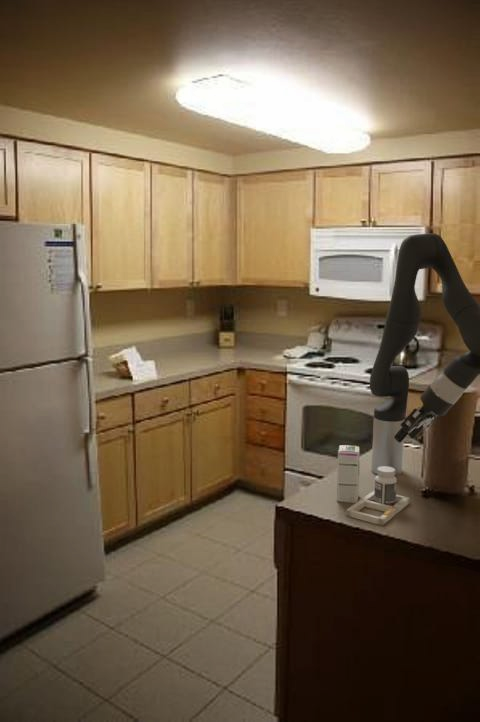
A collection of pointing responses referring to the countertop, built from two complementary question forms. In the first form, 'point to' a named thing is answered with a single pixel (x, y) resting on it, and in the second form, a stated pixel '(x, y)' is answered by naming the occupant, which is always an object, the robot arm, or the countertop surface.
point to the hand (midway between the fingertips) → (403, 438)
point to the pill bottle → (385, 486)
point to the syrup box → (348, 473)
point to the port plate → (368, 502)
